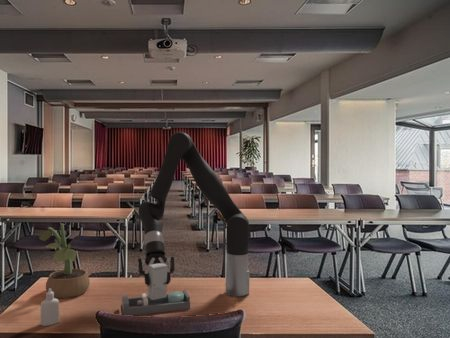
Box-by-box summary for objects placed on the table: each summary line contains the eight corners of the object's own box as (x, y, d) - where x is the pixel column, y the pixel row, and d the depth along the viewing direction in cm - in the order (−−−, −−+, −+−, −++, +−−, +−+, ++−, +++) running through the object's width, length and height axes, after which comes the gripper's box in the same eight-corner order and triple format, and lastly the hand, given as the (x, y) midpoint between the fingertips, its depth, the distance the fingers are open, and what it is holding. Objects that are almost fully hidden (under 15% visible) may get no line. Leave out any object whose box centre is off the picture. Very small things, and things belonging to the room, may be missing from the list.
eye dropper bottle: (43, 320, 132) (43, 286, 132) (60, 320, 133) (60, 286, 133) (38, 326, 128) (38, 291, 128) (56, 326, 129) (56, 290, 128)
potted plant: (51, 285, 167) (51, 216, 166) (94, 284, 169) (94, 216, 167) (29, 305, 145) (29, 226, 143) (78, 305, 146) (79, 227, 145)
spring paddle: (145, 303, 146) (145, 293, 146) (147, 311, 139) (148, 300, 139) (136, 304, 145) (136, 294, 145) (138, 312, 138) (138, 301, 138)
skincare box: (151, 300, 140) (152, 267, 140) (147, 296, 144) (147, 264, 143) (167, 297, 144) (168, 265, 143) (162, 293, 147) (162, 262, 147)
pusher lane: (184, 301, 152) (184, 288, 152) (190, 311, 143) (190, 298, 142) (121, 307, 145) (121, 294, 145) (123, 318, 135) (123, 304, 135)
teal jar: (181, 300, 150) (182, 290, 150) (185, 306, 144) (185, 296, 144) (166, 302, 148) (166, 292, 148) (169, 308, 142) (169, 298, 142)
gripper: (136, 240, 148) (139, 281, 137) (173, 239, 152) (179, 278, 142) (135, 250, 153) (137, 290, 142) (171, 248, 158) (175, 287, 147)
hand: (158, 284), depth 142 cm, fingers closed on skincare box, 6 cm apart
